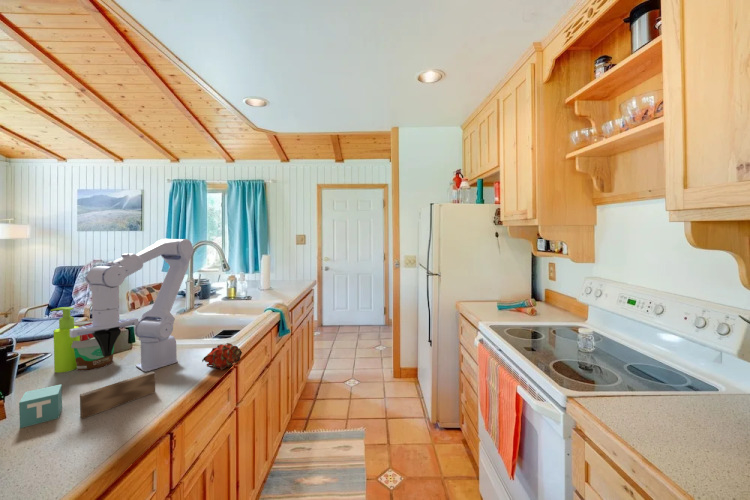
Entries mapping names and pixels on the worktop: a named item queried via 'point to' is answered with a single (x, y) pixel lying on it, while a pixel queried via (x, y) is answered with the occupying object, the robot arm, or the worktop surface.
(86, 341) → the food container
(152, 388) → the walnut block
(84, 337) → the soda can
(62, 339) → the soap dispenser
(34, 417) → the teal cube
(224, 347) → the dragon fruit
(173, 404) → the worktop surface
